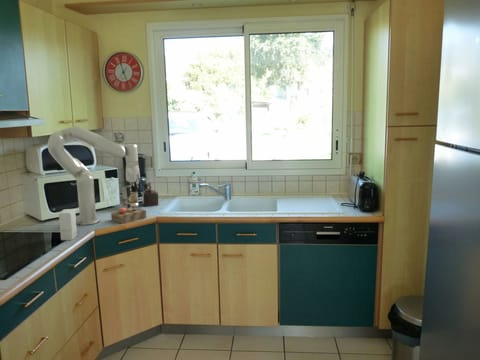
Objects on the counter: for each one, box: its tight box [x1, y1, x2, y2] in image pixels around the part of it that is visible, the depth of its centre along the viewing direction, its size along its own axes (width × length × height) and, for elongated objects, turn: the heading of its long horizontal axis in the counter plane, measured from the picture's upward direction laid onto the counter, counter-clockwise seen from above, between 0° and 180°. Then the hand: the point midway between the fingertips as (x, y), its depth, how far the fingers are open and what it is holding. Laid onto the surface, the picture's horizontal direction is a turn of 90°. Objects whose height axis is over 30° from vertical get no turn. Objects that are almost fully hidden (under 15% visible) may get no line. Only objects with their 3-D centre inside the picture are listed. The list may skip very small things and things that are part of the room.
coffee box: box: [121, 184, 139, 209], centre depth 286 cm, size 9×6×16 cm
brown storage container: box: [141, 182, 159, 207], centre depth 293 cm, size 16×11×18 cm
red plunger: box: [117, 207, 126, 214], centre depth 254 cm, size 5×5×5 cm
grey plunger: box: [131, 202, 139, 211], centre depth 260 cm, size 5×5×5 cm
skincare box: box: [58, 208, 78, 241], centre depth 220 cm, size 8×7×16 cm
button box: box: [110, 207, 147, 225], centre depth 258 cm, size 18×12×5 cm, turn 137°
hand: (134, 191), depth 258 cm, fingers closed
